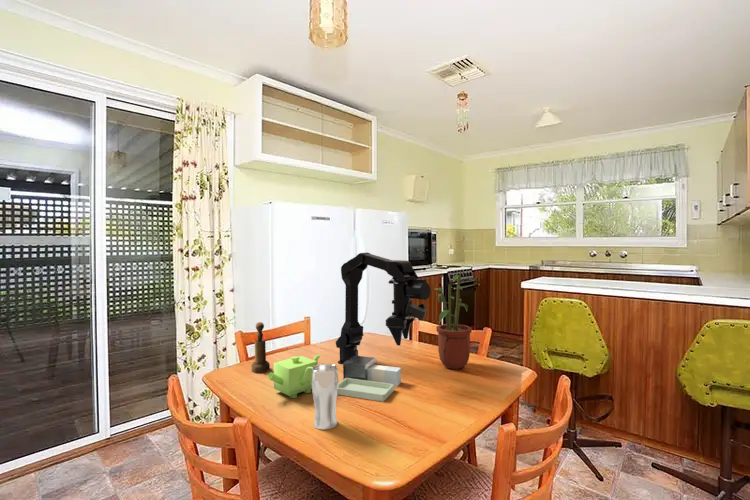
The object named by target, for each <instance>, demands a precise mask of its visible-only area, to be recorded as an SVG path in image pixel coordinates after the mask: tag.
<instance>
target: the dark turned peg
mask: <svg viewBox="0 0 750 500" xmlns="http://www.w3.org/2000/svg"><path fill="white" fill-rule="evenodd" d="M264 327H265V324H264V323H263V322H262V321H261V322H256V324H255V329H256V331H257V334H256V340H254V362H253V363H252V364H251V373H255V374H261V373H266V372H268V371H269V370H270V369H271V368H270V362H269V361H268V360H267V353H266V348H267V347H266V339H263V337H264V333H263V330H264Z"/></svg>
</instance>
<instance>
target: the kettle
mask: <svg viewBox="0 0 750 500" xmlns="http://www.w3.org/2000/svg"><path fill="white" fill-rule="evenodd" d="M322 355H323V354H321V353H320V354H317V355H315V356H314V357H313V359H312V358H308V357H306V356H303V355H299V356H297V355H296V356H295V355H294V356H292V357H291V358H287V359H283V360H280V361H276V362H273V372H270V373H268V375H267V380H270V381H272V382H273V389H275V390H277V391H279V392H280V394H284V395H286V396H288V397H289V398H290V399H296V398H298V394H299V393H302V392H304V393H305V394H310V393H312V368H313V367H314V366H316V365H319V364H318V361H319V359H320V357H321V356H322Z"/></svg>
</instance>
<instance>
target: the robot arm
mask: <svg viewBox="0 0 750 500" xmlns="http://www.w3.org/2000/svg"><path fill="white" fill-rule="evenodd" d="M368 266H370V267H373V268H376V269H378V270H379V269H380V270H383V271H385V272H386V274H387V275H389V276H391V277H392V278H391V279H390V280H389V281H388V284H389V285H390V284H391V285H393V300H391V304H393V311H392V312H391V315H390V316H388V317H387V318H386V319H385V326H386V328H387V329H388V330H389V332H390V333H391V336H392V337H393V340H394V342H395V344H396V346H399V347H400V346H401V345H402V343H401V342H402V336H403V339H405V340H407V339H408V337H409V333H410V330H411V324H412V323H413V322H414V321H415V320H416V319H417V320H419V321H423V320H424V319H425V317H426V314H427V312H428V309H427V308H426V304H424V303H423V302H422V303H419V304H414V303H413V300H414V299H415V300H422V301H427V300H428V299H429V298H430V295H431V291H432V289H431V286H430V285H429V283H428V282H427V278H419V277H418V276H419V275H418V274H417V273H416V271H415V269H414V268H413V265H412V262H410V260H401V259H399V260H398V259H397V260H396V259H390V258H386V257H383V256H379V255H376V254H372V253H370V252H359V253H357V255H355V257H353V258H350V259H349V260H348V261H346V262H344V263H343V264H342V265H341V267H340V273H341V280H342V281H343V283H344V284H345V308H344V309H345V316H344V317H345V319H344V320H345V321H344V323H343V325H342V327H341V330H340V335H339V337H338V338H337V339H336V341H335V346H336V348H338V349H339V360H338V361H337V363H338V364H343V363H344V362H345V361H347V360H348V359H350V358H351V357H353V356H359V350H358V346H360V345H361V341H362V340H363V337H364V326H363V325H361V324H360V322H359V284H360V282H361V281H362V279H363V273H364V271H365V270H366V269H367V268H368ZM412 299H413V300H412Z"/></svg>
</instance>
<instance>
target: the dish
mask: <svg viewBox="0 0 750 500" xmlns="http://www.w3.org/2000/svg"><path fill="white" fill-rule="evenodd" d="M394 391H395V386H394V384H389V383H381V382H374V381H366V380H359V379H352V378H345V379H344V380H343V379H342V380H341V381H340V382H338V394H337V396H338V395H339V396H346V397H351V398H358V399H365V400H369V401H376V402H382V403H383V402H386V401H387V399H388V398H389V397H391V395H392V393H394Z"/></svg>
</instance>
